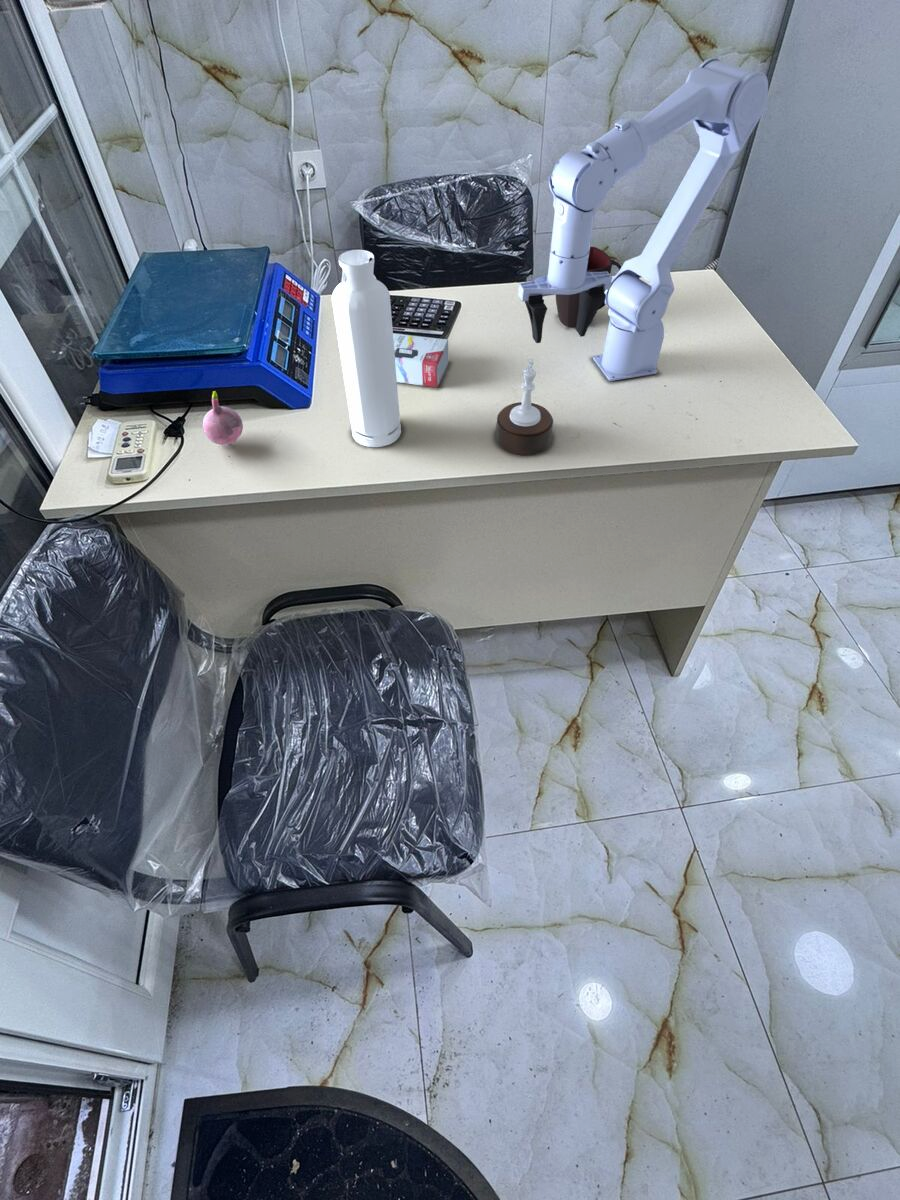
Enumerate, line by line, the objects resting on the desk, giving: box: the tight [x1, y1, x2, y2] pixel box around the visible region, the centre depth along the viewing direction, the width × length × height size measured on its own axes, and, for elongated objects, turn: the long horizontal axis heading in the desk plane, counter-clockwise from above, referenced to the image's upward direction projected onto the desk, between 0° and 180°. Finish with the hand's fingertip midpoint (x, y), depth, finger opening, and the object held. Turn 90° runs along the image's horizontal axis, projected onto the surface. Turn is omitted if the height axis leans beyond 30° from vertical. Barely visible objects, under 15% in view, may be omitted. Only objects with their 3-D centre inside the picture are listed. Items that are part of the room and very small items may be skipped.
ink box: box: [393, 332, 449, 388], centre depth 116 cm, size 9×5×12 cm
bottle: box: [331, 249, 402, 448], centre depth 96 cm, size 8×8×28 cm
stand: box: [495, 401, 554, 456], centre depth 104 cm, size 9×9×4 cm
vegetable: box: [202, 390, 244, 446], centre depth 101 cm, size 6×6×10 cm
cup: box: [555, 246, 623, 329], centre depth 124 cm, size 10×14×12 cm
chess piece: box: [510, 358, 541, 427], centre depth 99 cm, size 5×5×10 cm
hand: (558, 336), depth 106 cm, fingers open, 7 cm apart
